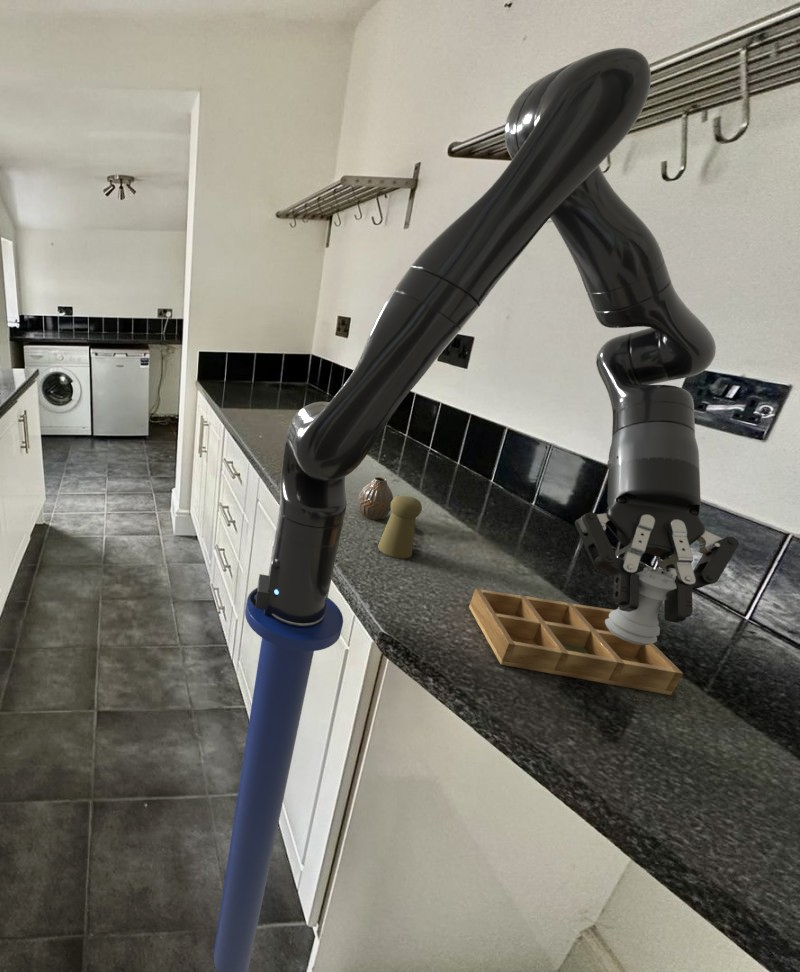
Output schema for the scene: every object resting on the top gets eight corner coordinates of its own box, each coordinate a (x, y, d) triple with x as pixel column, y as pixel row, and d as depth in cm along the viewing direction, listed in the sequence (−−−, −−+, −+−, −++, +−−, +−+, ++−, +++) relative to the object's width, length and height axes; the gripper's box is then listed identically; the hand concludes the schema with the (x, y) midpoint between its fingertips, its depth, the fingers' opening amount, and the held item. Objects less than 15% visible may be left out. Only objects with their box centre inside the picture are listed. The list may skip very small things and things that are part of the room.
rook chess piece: (597, 629, 57) (626, 568, 54) (610, 616, 59) (638, 557, 56) (649, 652, 53) (683, 589, 50) (660, 637, 56) (693, 576, 53)
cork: (409, 561, 93) (424, 508, 89) (375, 552, 96) (388, 499, 92) (413, 548, 98) (427, 496, 94) (380, 539, 101) (392, 489, 97)
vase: (389, 513, 113) (397, 476, 109) (388, 525, 107) (398, 487, 103) (356, 506, 115) (364, 471, 112) (354, 518, 109) (362, 481, 106)
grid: (500, 664, 69) (508, 643, 67) (468, 607, 81) (475, 588, 79) (671, 695, 65) (683, 673, 63) (610, 630, 77) (620, 610, 75)
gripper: (593, 445, 58) (587, 589, 52) (759, 467, 53) (771, 629, 47) (563, 473, 64) (555, 603, 59) (708, 495, 59) (714, 640, 54)
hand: (652, 614), depth 53 cm, fingers closed on rook chess piece, 3 cm apart
